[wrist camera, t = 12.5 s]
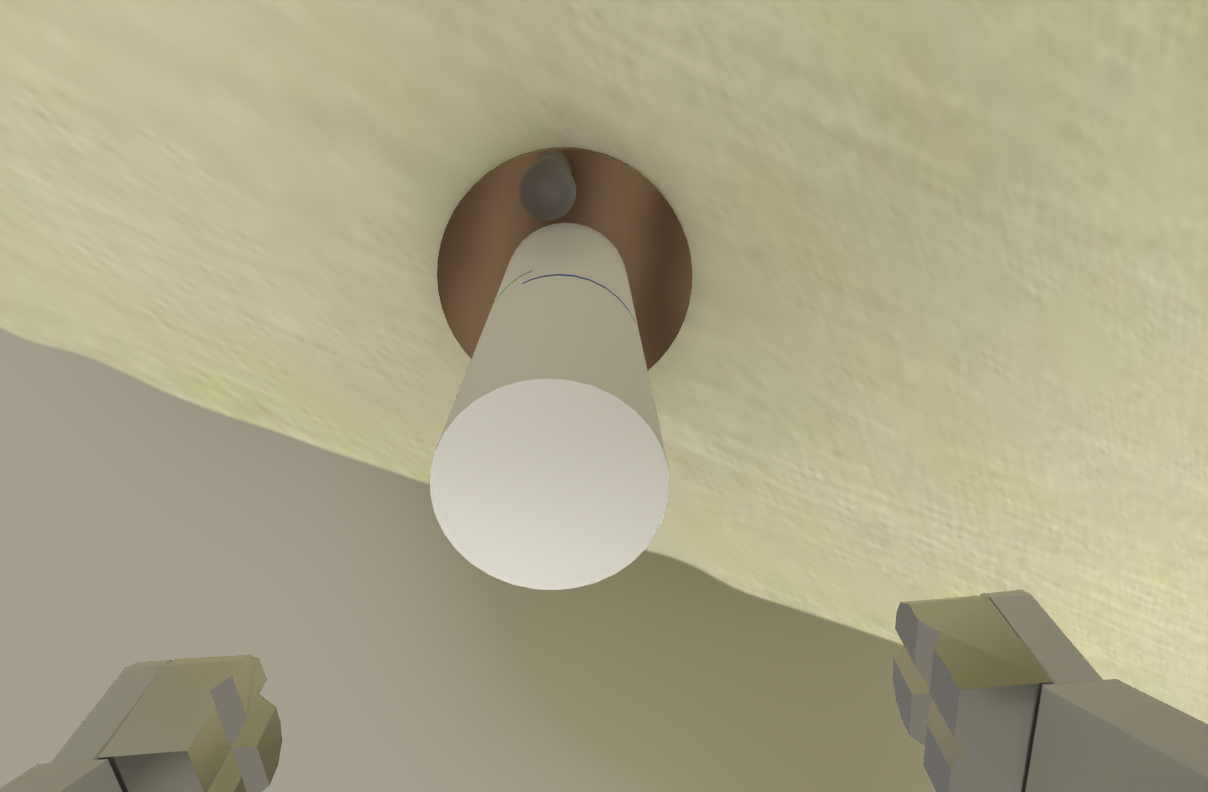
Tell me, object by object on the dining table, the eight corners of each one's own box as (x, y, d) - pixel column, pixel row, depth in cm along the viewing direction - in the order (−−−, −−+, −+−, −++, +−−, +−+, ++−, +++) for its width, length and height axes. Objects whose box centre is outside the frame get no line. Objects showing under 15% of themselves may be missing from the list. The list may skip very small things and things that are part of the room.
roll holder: (684, 131, 45) (716, 150, 34) (693, 385, 51) (722, 471, 40) (422, 152, 45) (370, 178, 34) (461, 403, 51) (427, 493, 40)
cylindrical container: (637, 327, 48) (688, 566, 25) (522, 351, 48) (467, 608, 25) (613, 210, 45) (645, 355, 22) (492, 237, 46) (398, 406, 22)
